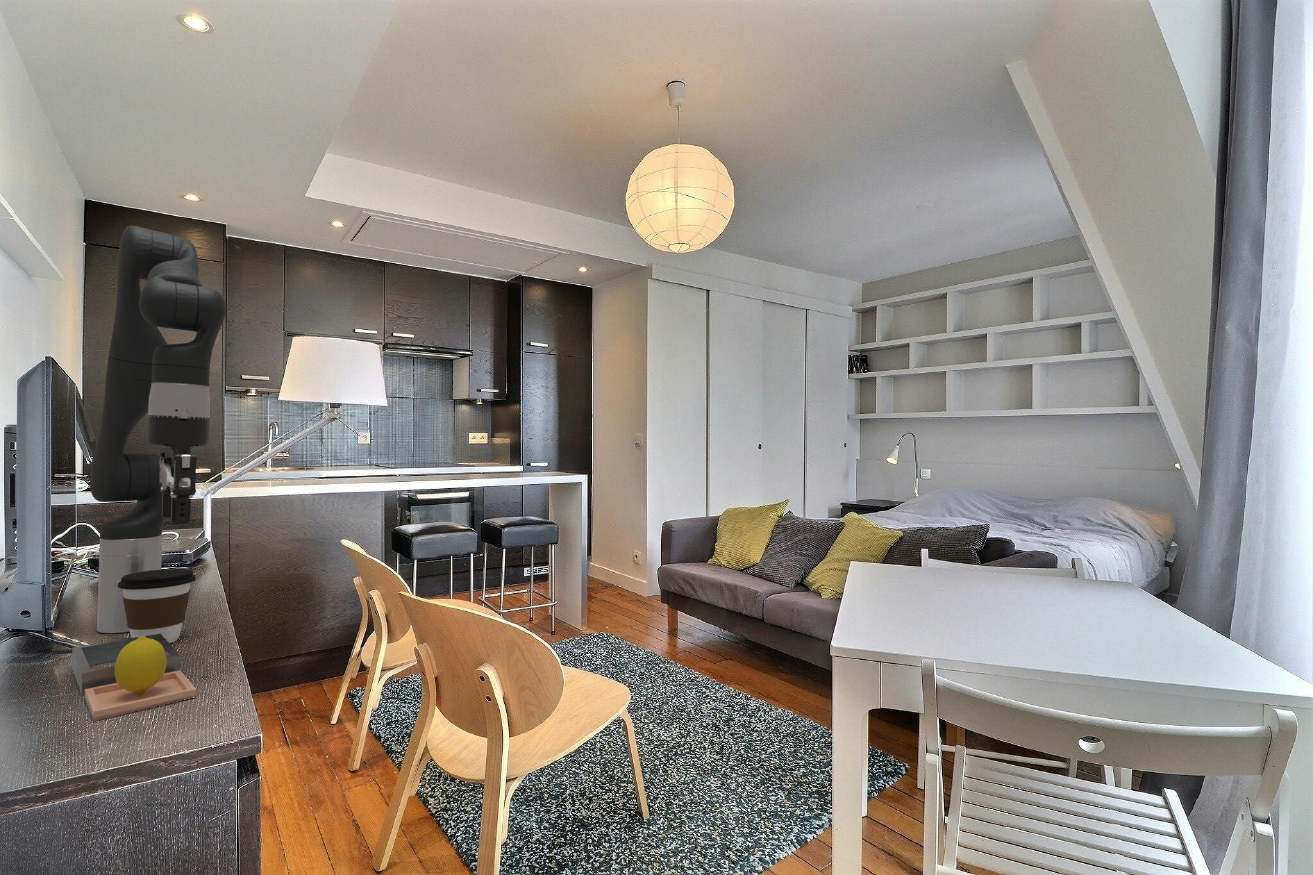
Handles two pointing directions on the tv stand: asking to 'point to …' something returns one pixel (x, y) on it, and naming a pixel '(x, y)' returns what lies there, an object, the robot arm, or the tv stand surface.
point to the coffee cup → (156, 601)
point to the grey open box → (109, 653)
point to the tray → (137, 696)
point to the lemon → (140, 665)
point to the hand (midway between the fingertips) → (175, 520)
